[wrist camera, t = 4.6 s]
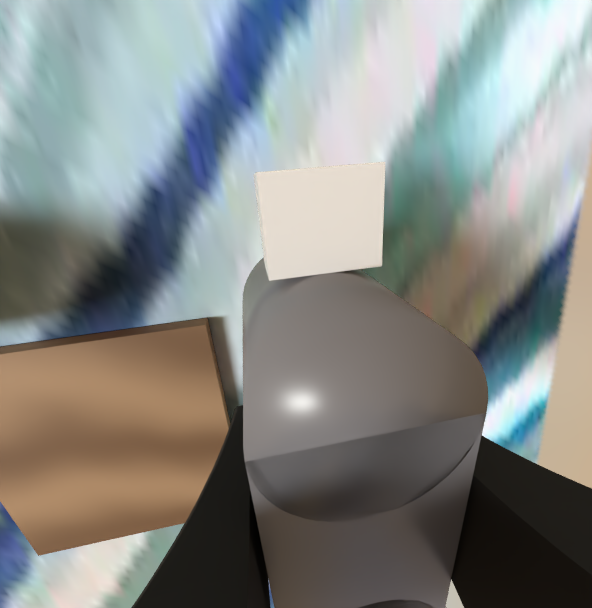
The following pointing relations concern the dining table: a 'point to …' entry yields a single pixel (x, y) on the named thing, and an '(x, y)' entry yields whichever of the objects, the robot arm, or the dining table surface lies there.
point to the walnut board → (108, 432)
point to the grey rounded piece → (350, 405)
